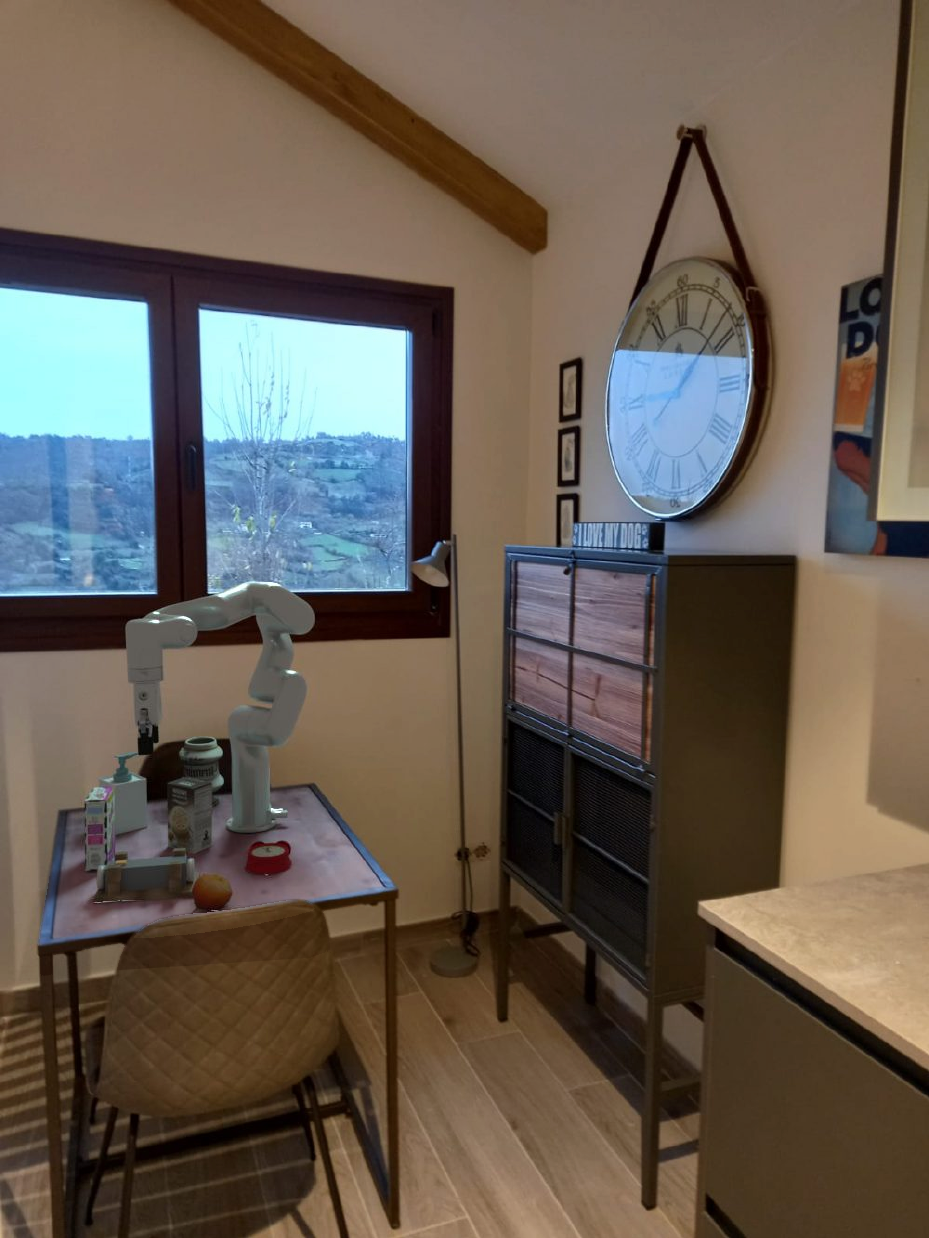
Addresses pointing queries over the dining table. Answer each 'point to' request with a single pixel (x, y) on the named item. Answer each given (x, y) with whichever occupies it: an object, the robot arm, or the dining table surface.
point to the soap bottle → (127, 797)
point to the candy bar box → (99, 827)
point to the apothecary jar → (202, 761)
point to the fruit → (211, 892)
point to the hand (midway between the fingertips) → (148, 748)
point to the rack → (147, 894)
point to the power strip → (146, 873)
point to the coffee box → (189, 814)
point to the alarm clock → (268, 857)
